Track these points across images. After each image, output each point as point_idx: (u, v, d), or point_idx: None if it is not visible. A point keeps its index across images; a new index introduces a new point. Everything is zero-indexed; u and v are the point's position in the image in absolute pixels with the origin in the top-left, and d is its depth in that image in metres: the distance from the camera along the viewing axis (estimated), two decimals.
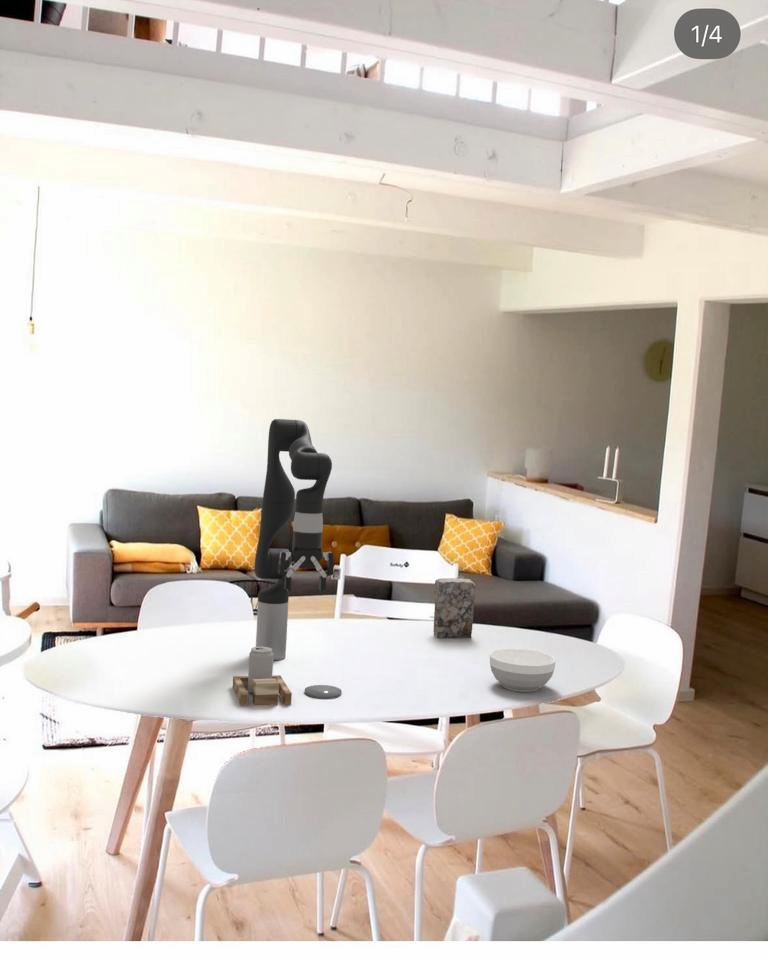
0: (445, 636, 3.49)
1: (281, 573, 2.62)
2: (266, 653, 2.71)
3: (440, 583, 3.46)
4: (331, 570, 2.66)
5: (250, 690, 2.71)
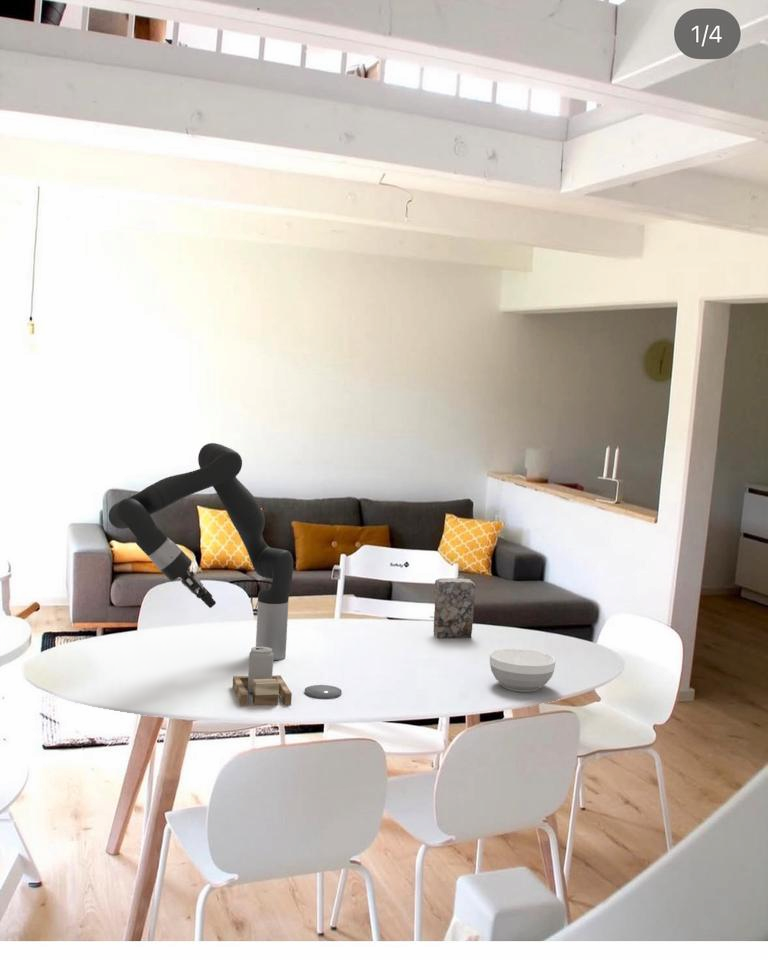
0: (445, 636, 3.49)
1: None
2: (266, 653, 2.71)
3: (440, 583, 3.46)
4: (195, 594, 2.64)
5: (250, 690, 2.71)
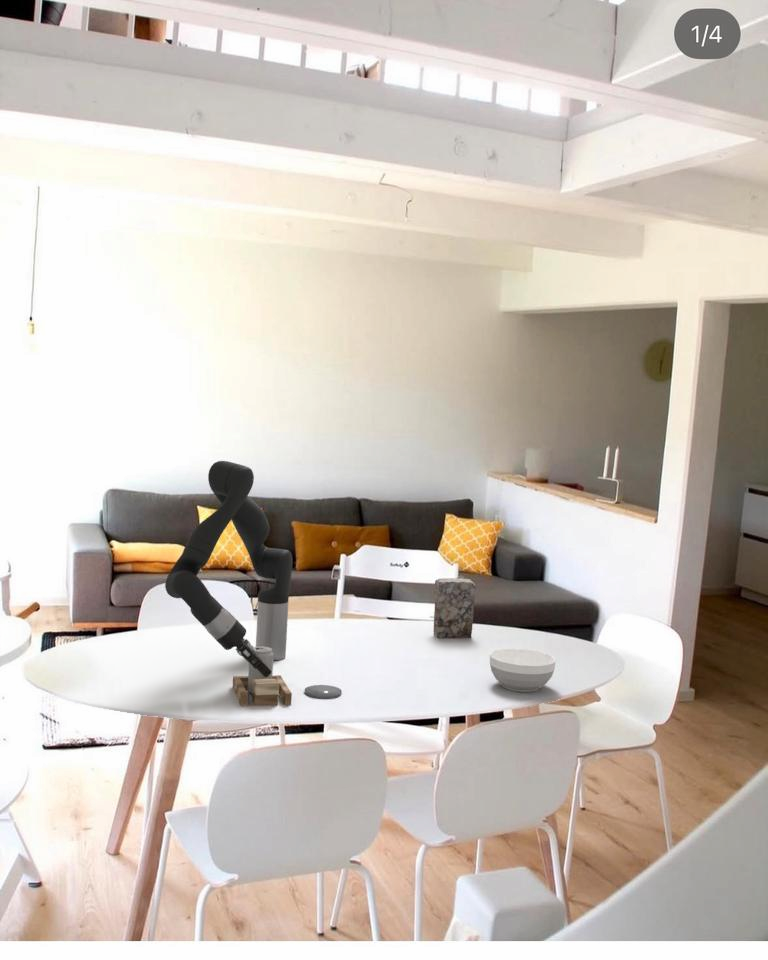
0: (445, 636, 3.49)
1: None
2: (266, 653, 2.71)
3: (440, 583, 3.46)
4: (252, 665, 2.67)
5: (250, 690, 2.71)
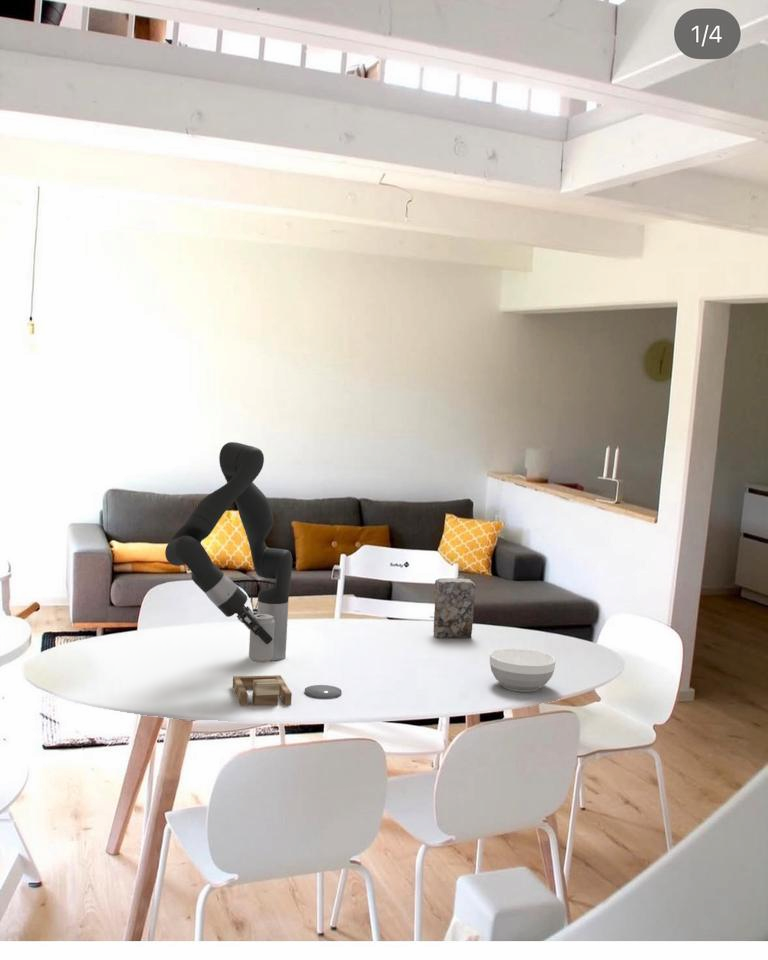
0: (445, 636, 3.49)
1: None
2: (267, 620, 2.70)
3: (440, 583, 3.46)
4: (253, 632, 2.66)
5: (251, 657, 2.71)
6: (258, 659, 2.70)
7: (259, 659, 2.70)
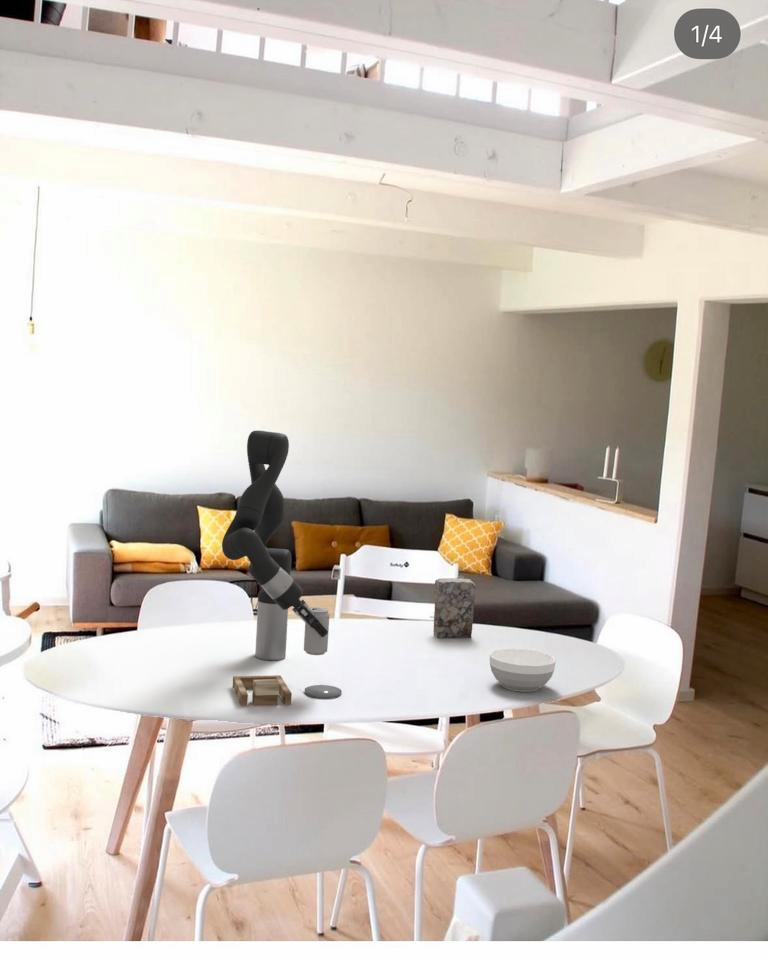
0: (445, 636, 3.49)
1: None
2: (322, 613, 2.72)
3: (440, 583, 3.46)
4: (309, 624, 2.68)
5: (306, 650, 2.73)
6: (313, 652, 2.72)
7: (314, 652, 2.72)
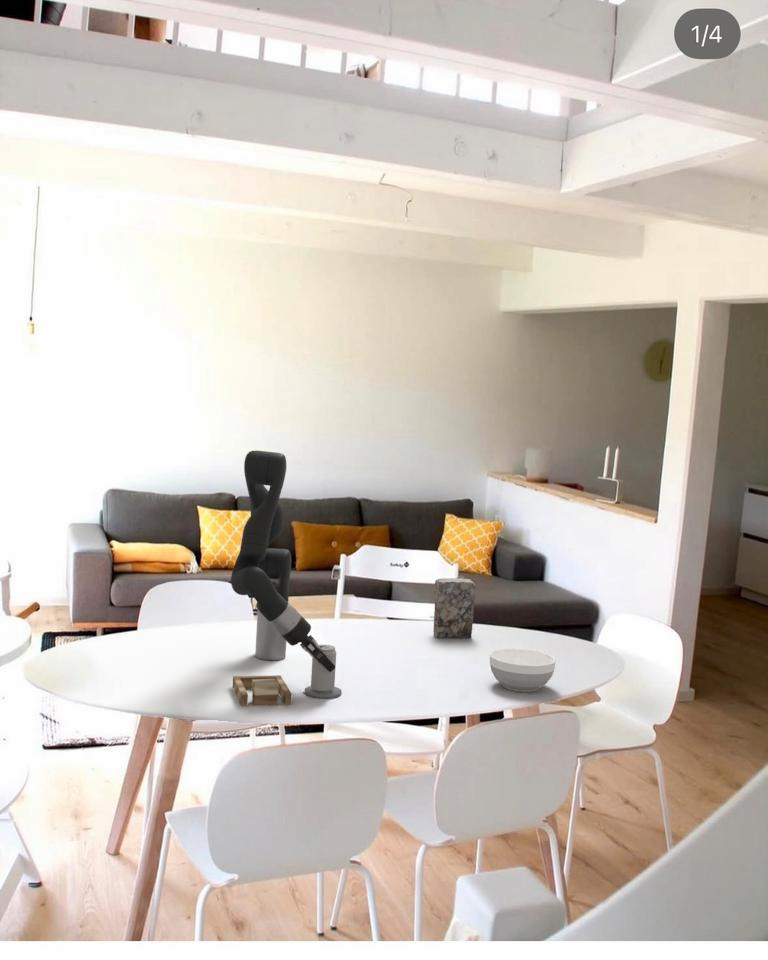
0: (445, 636, 3.49)
1: None
2: (330, 651, 2.73)
3: (440, 583, 3.46)
4: (317, 660, 2.68)
5: (314, 688, 2.74)
6: (321, 690, 2.73)
7: (322, 690, 2.73)
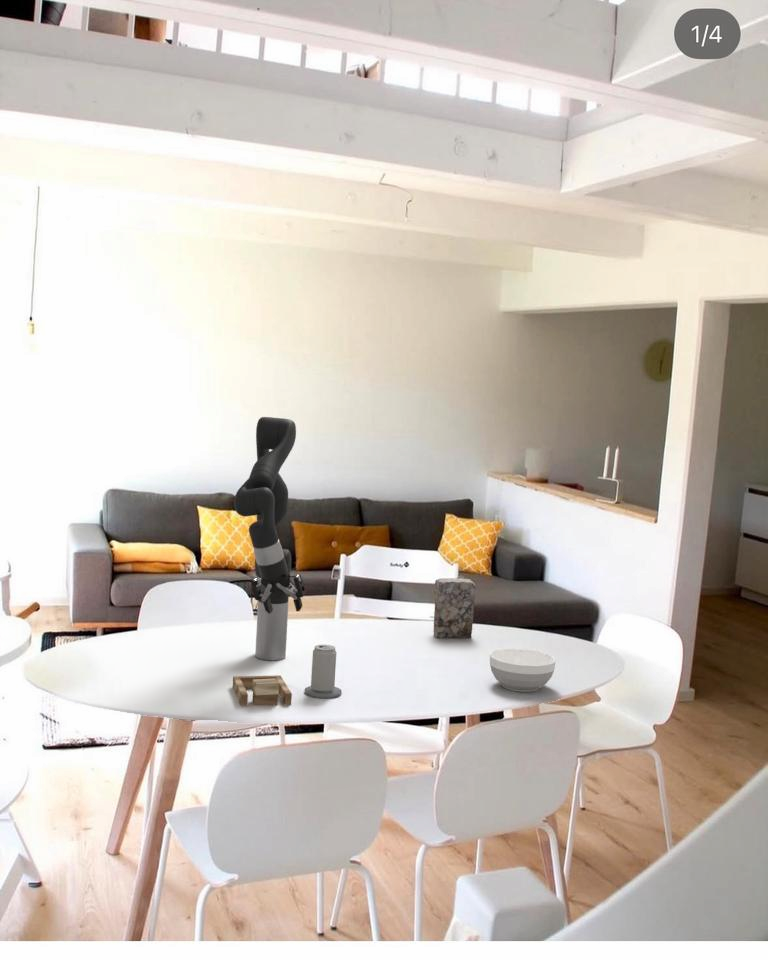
0: (445, 636, 3.49)
1: (256, 599, 2.78)
2: (330, 651, 2.73)
3: (440, 583, 3.46)
4: (300, 593, 2.73)
5: (314, 688, 2.74)
6: (321, 690, 2.73)
7: (322, 690, 2.73)
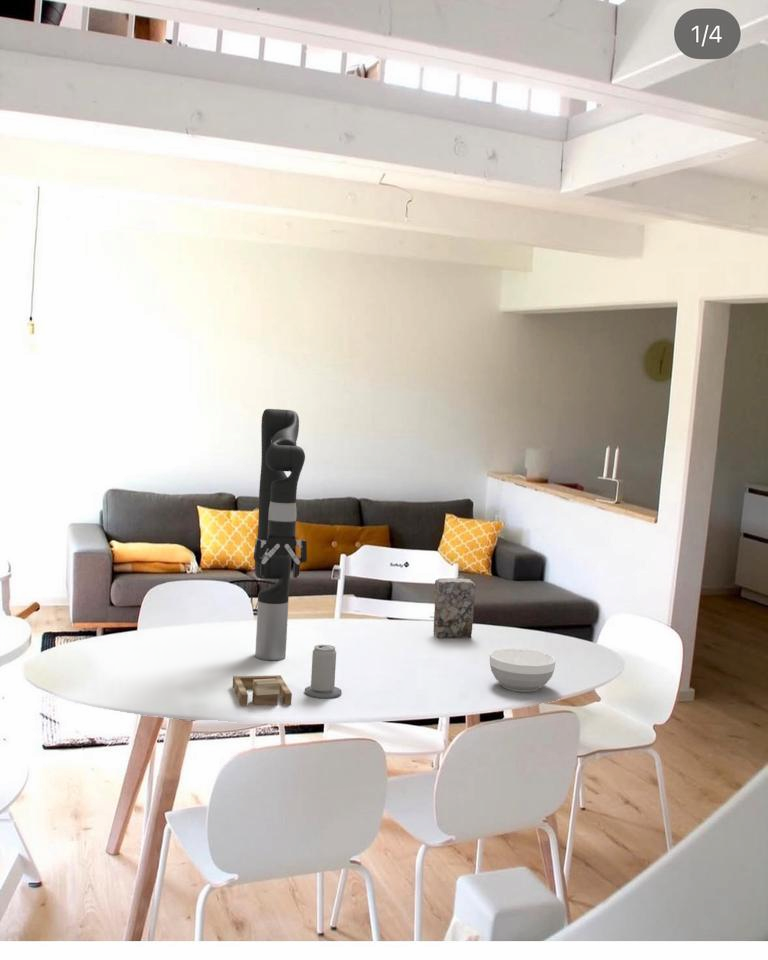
0: (445, 636, 3.49)
1: (256, 560, 2.76)
2: (330, 651, 2.73)
3: (440, 583, 3.46)
4: (304, 557, 2.79)
5: (314, 688, 2.74)
6: (321, 690, 2.73)
7: (322, 690, 2.73)
